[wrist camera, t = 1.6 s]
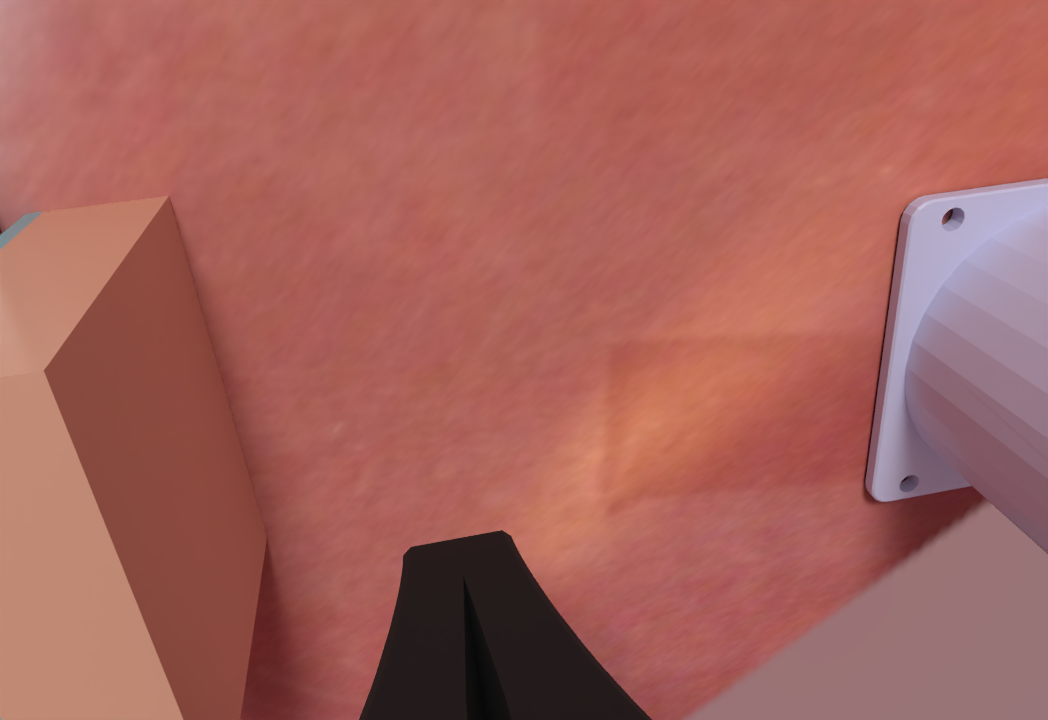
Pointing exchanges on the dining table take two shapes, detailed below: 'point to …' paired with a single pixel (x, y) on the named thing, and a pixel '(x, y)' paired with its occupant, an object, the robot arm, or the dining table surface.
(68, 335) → the glazed tile
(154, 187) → the dining table surface
